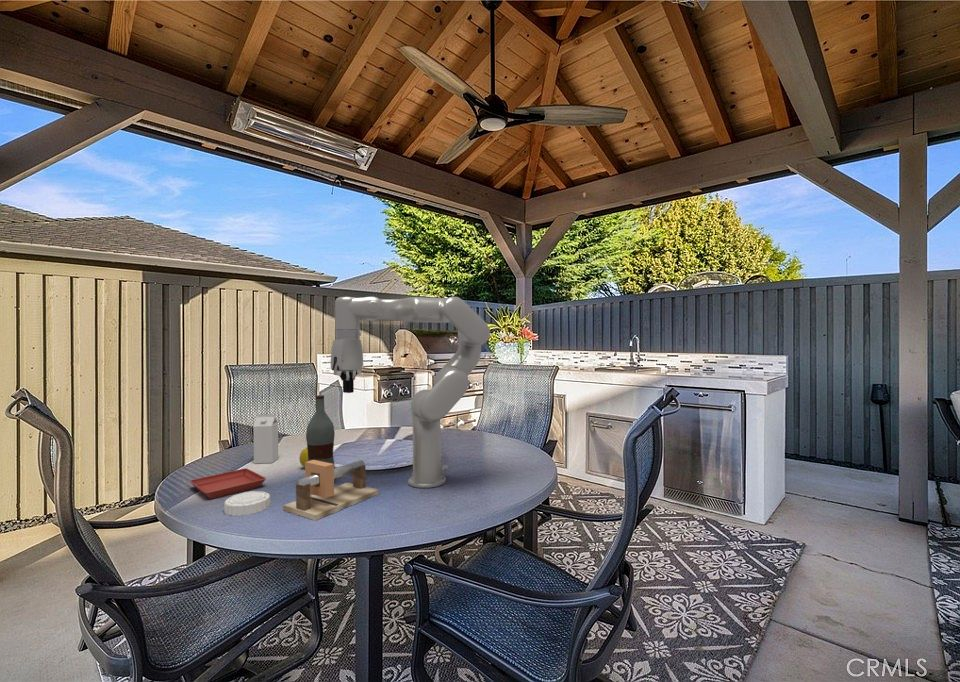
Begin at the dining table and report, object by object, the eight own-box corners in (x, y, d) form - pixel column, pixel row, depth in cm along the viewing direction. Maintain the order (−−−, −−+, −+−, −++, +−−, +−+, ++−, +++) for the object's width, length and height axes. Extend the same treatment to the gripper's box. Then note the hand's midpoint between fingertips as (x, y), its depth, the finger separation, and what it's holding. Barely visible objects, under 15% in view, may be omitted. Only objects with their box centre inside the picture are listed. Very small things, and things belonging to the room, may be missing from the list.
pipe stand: (347, 486, 150) (347, 461, 150) (378, 494, 143) (378, 467, 143) (283, 510, 130) (282, 481, 130) (315, 520, 122) (314, 489, 122)
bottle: (327, 477, 161) (327, 393, 160) (340, 482, 154) (339, 395, 154) (301, 483, 154) (300, 395, 154) (313, 489, 148) (312, 398, 147)
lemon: (296, 469, 170) (296, 448, 170) (306, 465, 175) (306, 445, 175) (308, 471, 168) (307, 449, 168) (318, 467, 173) (318, 446, 173)
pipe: (358, 468, 147) (357, 459, 147) (365, 470, 145) (364, 460, 145) (296, 489, 127) (296, 478, 127) (303, 491, 126) (303, 479, 126)
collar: (313, 489, 136) (313, 459, 136) (334, 494, 131) (333, 463, 131) (305, 492, 133) (305, 462, 133) (325, 498, 128) (325, 466, 128)
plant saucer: (206, 502, 137) (206, 492, 137) (188, 489, 150) (188, 479, 150) (267, 488, 151) (267, 478, 151) (246, 477, 163) (246, 467, 163)
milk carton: (260, 459, 185) (259, 413, 185) (278, 458, 186) (277, 412, 186) (253, 464, 178) (253, 416, 178) (272, 463, 179) (271, 415, 179)
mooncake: (262, 498, 141) (262, 486, 141) (276, 508, 132) (276, 496, 132) (219, 508, 132) (219, 496, 132) (231, 520, 124) (230, 507, 124)
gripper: (356, 335, 153) (357, 389, 153) (320, 335, 141) (321, 394, 141) (372, 335, 149) (373, 390, 149) (337, 335, 137) (337, 395, 137)
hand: (348, 392), depth 145 cm, fingers closed
